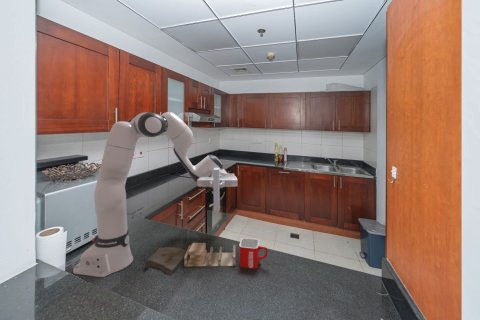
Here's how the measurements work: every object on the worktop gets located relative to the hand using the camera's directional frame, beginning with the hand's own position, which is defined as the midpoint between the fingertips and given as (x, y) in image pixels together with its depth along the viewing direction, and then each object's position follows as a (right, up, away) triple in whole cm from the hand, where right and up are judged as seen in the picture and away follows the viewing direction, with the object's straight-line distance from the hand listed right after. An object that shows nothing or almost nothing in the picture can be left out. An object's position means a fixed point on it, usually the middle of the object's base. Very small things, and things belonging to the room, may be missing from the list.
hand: (216, 185), depth 97 cm
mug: (+17, -35, -5) cm, 39 cm away
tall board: (0, -12, +2) cm, 12 cm away
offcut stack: (-8, -33, -3) cm, 34 cm away
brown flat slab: (-22, -35, -4) cm, 42 cm away
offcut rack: (-2, -34, -3) cm, 35 cm away
